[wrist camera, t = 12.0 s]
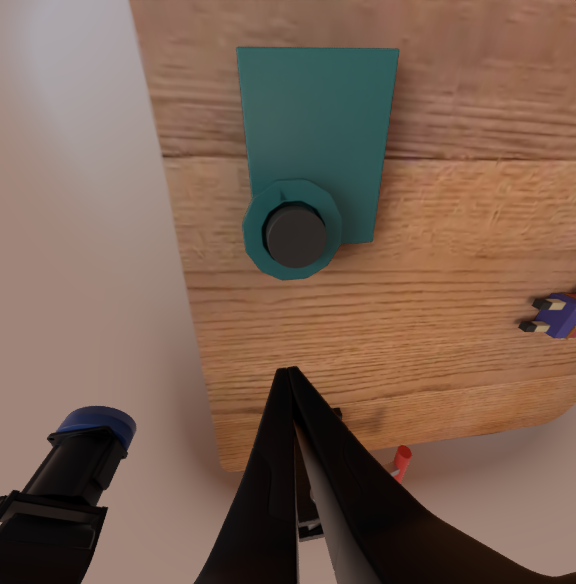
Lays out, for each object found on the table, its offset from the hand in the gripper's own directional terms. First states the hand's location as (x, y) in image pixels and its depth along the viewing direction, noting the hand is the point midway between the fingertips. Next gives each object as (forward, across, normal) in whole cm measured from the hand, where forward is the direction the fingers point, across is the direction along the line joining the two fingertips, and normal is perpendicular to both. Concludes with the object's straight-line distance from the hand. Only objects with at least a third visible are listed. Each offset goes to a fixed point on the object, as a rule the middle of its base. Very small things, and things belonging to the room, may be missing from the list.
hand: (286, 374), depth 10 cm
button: (+8, -2, -4) cm, 9 cm away
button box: (+11, -4, -8) cm, 14 cm away
